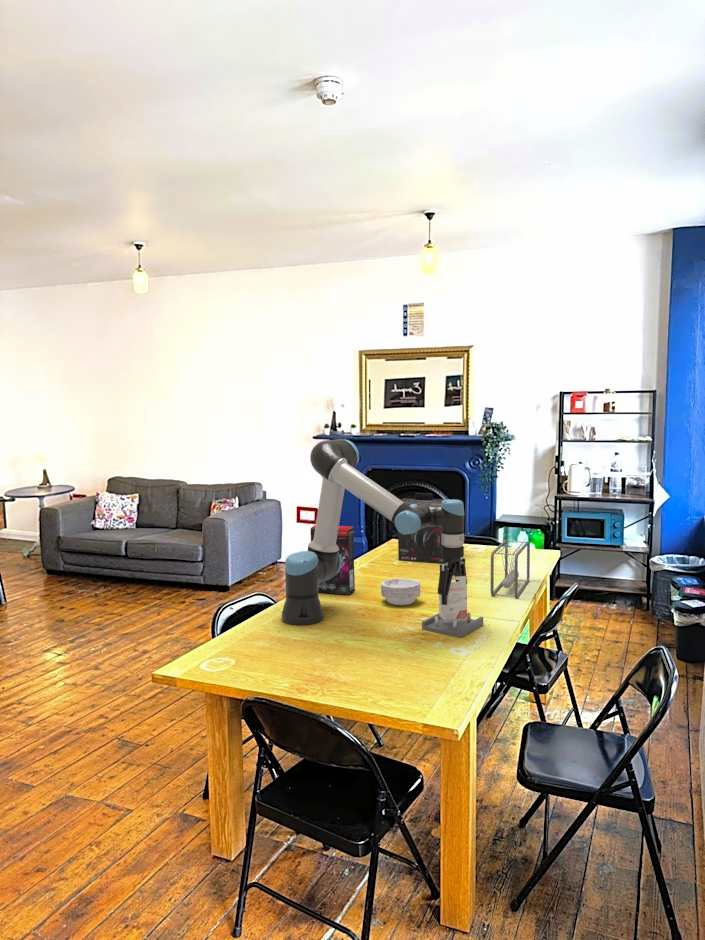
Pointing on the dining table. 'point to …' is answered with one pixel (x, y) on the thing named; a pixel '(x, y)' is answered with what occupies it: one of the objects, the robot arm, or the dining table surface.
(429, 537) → the headset box
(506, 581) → the newton's cradle
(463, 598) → the ink cartridge box
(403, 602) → the paper bowls
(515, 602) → the dining table surface
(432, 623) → the pin tray
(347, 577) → the graphics card box
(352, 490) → the robot arm
